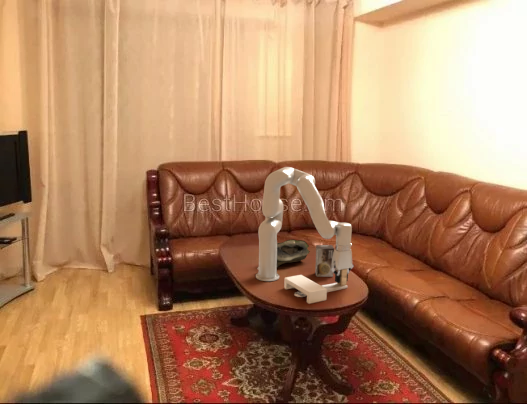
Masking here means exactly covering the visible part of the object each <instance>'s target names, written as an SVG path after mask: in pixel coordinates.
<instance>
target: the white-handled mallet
mask: <svg viewBox="0 0 527 404" xmlns="http://www.w3.org/2000/svg"><path fill="white" fill-rule="evenodd" d="M339 275H340V283H337V282H333V283H329V284H322V285H321V286H322V287H324V288H326V289H327V293H329V292H335V291H340V290H344V289H348V285H347V282H348V281H347V269H342V270H340V274H339Z"/></svg>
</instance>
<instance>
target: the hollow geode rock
mask: <svg viewBox="0 0 527 404" xmlns="http://www.w3.org/2000/svg"><path fill="white" fill-rule="evenodd" d="M309 247H310V245H309V244H308V243H307V241H305V240H302V239H300V240H299V239H298V240H297V239H294V238H293V239H287V240H285V241H283V242H277V268H278V267H280V266H281V265H283V264H289V263H294V262H297V263H298V262H301V261H304V260H305V259H307V256H308V254H310V252H311V251H310V250H309V249H308V248H309Z"/></svg>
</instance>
